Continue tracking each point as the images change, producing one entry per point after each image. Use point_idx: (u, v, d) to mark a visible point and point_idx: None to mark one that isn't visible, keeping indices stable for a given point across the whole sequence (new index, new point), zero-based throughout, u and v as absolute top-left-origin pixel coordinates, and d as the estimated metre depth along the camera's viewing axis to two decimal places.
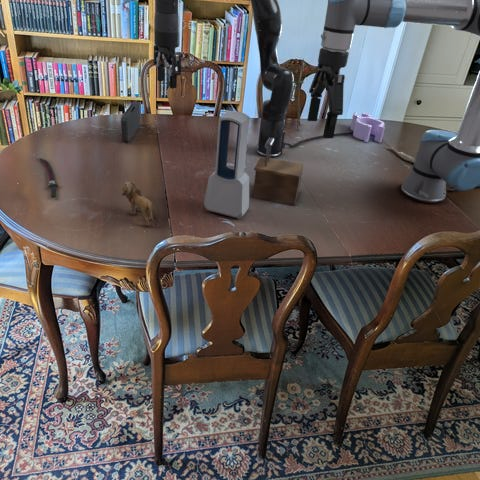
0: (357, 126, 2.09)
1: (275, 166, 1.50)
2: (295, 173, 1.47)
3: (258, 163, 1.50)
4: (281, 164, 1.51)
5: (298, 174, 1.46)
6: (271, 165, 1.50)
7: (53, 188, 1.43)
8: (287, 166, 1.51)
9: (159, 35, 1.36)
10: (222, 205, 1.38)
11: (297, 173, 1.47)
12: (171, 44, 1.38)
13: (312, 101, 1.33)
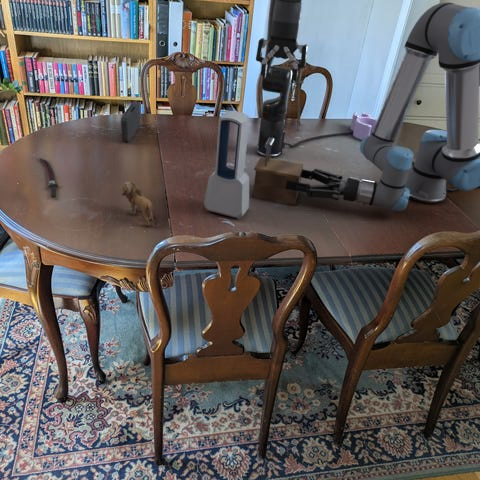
0: (357, 126, 2.09)
1: (275, 166, 1.50)
2: (295, 173, 1.47)
3: (258, 163, 1.50)
4: (281, 164, 1.51)
5: (298, 174, 1.46)
6: (271, 165, 1.50)
7: (53, 188, 1.43)
8: (287, 166, 1.51)
9: None
10: (222, 205, 1.38)
11: (297, 173, 1.47)
12: None
13: None
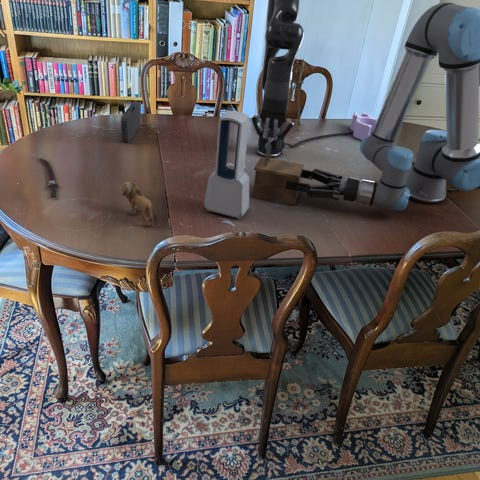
0: (357, 126, 2.09)
1: (275, 166, 1.50)
2: (295, 173, 1.47)
3: (258, 163, 1.50)
4: (281, 164, 1.51)
5: (298, 174, 1.46)
6: (271, 165, 1.50)
7: (53, 188, 1.43)
8: (287, 166, 1.51)
9: None
10: (222, 205, 1.38)
11: (297, 173, 1.47)
12: None
13: None
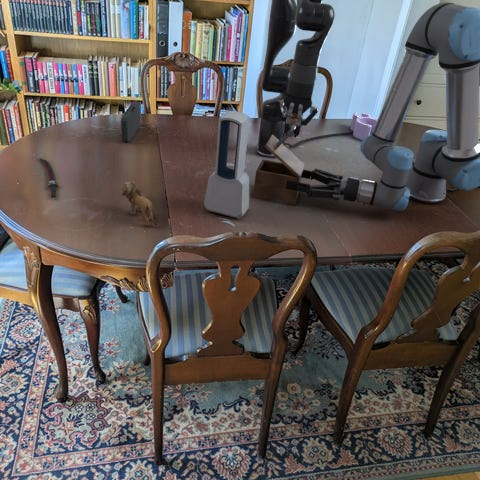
0: (357, 126, 2.09)
1: (283, 153, 1.47)
2: (297, 171, 1.46)
3: (270, 141, 1.46)
4: (288, 154, 1.49)
5: (299, 174, 1.46)
6: (280, 150, 1.47)
7: (53, 188, 1.43)
8: (292, 159, 1.49)
9: None
10: (222, 205, 1.38)
11: (299, 172, 1.46)
12: None
13: None
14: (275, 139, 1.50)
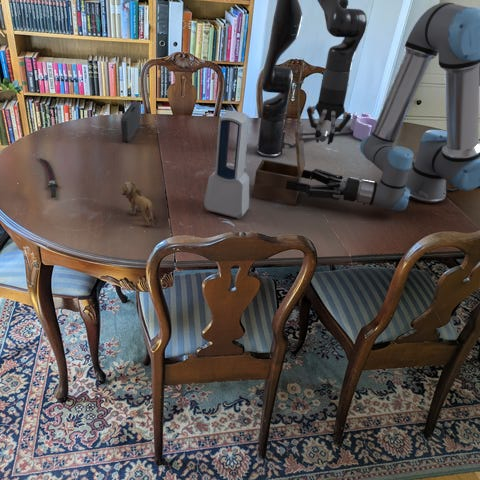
0: (357, 126, 2.09)
1: (300, 147, 1.44)
2: (301, 171, 1.46)
3: (299, 129, 1.42)
4: (302, 149, 1.47)
5: (301, 174, 1.46)
6: (300, 142, 1.44)
7: (53, 188, 1.43)
8: (302, 156, 1.48)
9: None
10: (222, 205, 1.38)
11: (301, 172, 1.46)
12: None
13: None
14: (301, 128, 1.46)
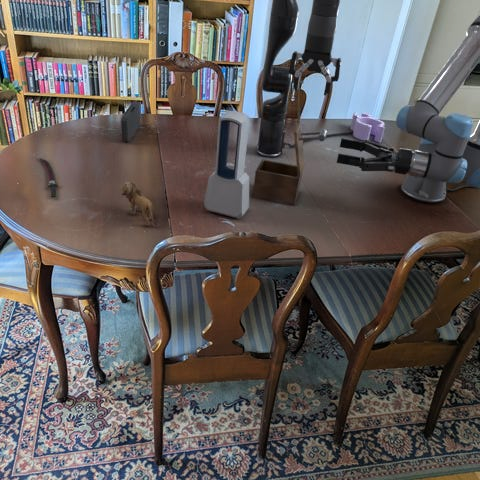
0: (357, 126, 2.09)
1: (300, 147, 1.44)
2: (300, 171, 1.46)
3: (298, 129, 1.42)
4: (301, 149, 1.47)
5: (301, 174, 1.46)
6: (299, 142, 1.44)
7: (53, 188, 1.43)
8: (301, 156, 1.48)
9: None
10: (222, 205, 1.38)
11: (301, 172, 1.46)
12: None
13: None
14: (300, 128, 1.46)
